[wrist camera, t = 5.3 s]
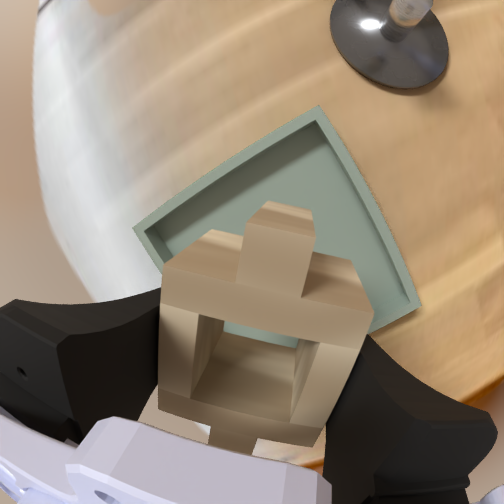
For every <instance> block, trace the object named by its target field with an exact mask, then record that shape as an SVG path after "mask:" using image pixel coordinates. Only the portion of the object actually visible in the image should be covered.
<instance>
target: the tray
mask: <svg viewBox="0 0 504 504" xmlns="http://www.w3.org/2000/svg"><path fill="white" fill-rule="evenodd" d="M267 201H273V202H278V203H282V204H287V205H292V206H296V207H301V208H305V209H310V210H311V212H312V217H313V223H314V229H315V235H316V240H315V244H314V248H313V252H318V253H322V254H327V255H331V256H335V257H340V258H344V259H348V260H351V262H352V264H353V266H354V268H355V270H356V272H357V275H358V277H359V279H360V281H361V283H362V286H363V288H364V290H365V293H366V295H367V297H368V299H369V302H370V304H371V306H372V309H373V311H374V316H373V319H372V321H371V324H370V327H369V329H368V332H367V334H370V333H372V332H374V331H376V330H378V329H380V328H382V327H384V326H386V325H387V324H389V323H391V322H393V321H395V320H397V319H399V318H401V317H402V316H404V315H406V314H408V313H410V312H411V311H413V310H415V309H417V308H419V307H420V306H422V305H421V303H420V300H419V297H418V295H417V292H416V290H415V287H414V285H413V282H412V280H411V277H410V275H409V272H408V270H407V268H406V265H405V263H404V261H403V258H402V256H401V254H400V251H399V249H398V247H397V245H396V243H395V240H394V238H393V236H392V234H391V232H390V230H389V228H388V225H387V223H386V221H385V219H384V217H383V215H382V213H381V211H380V209H379V207H378V205H377V203H376V201H375V199H374V197H373V196H372V194H371V192H370V190H369V188H368V186H367V184H366V182H365V181H364V179H363V177H362V175H361V173H360V171H359V170H358V168H357V166H356V164H355V163H354V161H353V159H352V157H351V156H350V154H349V152H348V150H347V149H346V147H345V145H344V144H343V142H342V140H341V139H340V137H339V136H338V134H337V132H336V131H335V129H334V127H333V126H332V124H331V123H330V121H329V120H328V118H327V116H326V115H325V113H324V112H323V110H322V109H321V107H320V106H319V105H318V106H316V107H314V108H312V109H311V110H309V111H307V112H305V113H304V114H302V115H300V116H298V117H297V118H295V119H293V120H291V121H290V122H288V123H286V124H285V125H283V126H281V127H279V128H278V129H276V130H274V131H273V132H271V133H269V134H268V135H266V136H265V137H263V138H261V139H260V140H258V141H256V142H255V143H253V144H252V145H250V146H248V147H247V148H245V149H244V150H242V151H241V152H239V153H237V154H236V155H234V156H233V157H231V158H230V159H228V160H227V161H225V162H224V163H222V164H221V165H219V166H218V167H216V168H215V169H213V170H212V171H210V172H209V173H207V174H206V175H204V176H203V177H201V178H200V179H198V180H197V181H195V182H194V183H193V184H191V185H190V186H188V187H187V188H185V189H184V190H183V191H181V192H180V193H178V194H177V195H176V196H174V197H173V198H171V199H170V200H169V201H167V202H166V203H165V204H163V205H162V206H161V207H159V208H158V209H157V210H155V211H154V212H152V213H151V214H150V215H148V216H147V217H146V218H145V219H143V220H142V221H141V222H139V223H138V224H137V225H135V226H134V227H133V230H134V232H135V233H136V235H137V237H138V238H139V240H140V241H141V243H142V245H143V246H144V248H145V249H146V251H147V252H148V254H149V256H150V257H151V259H152V260H153V262H154V263H155V265H156V266H157V268H158V270H159V271H160V273H161V274H162V271H163V264H165V263H166V262H167V261H169V260H170V259H172V258H173V257H174V256H176V255H177V254H178V253H180V252H181V251H182V250H184V249H185V248H186V247H188V246H189V245H191V244H192V243H193V242H195V241H196V240H197V239H199V238H200V237H201V236H203V235H204V234H206V233H207V232H208V231H210V230H211V229H214V230H218V231H223V232H228V233H232V234H237V235H241V236H244V231H245V226H246V222H247V221H248V220H249V219H250V218H251V217H252V216H253V215H254V214H255V213H256V212H257V211H258V210H259V209H260V208H261V207H262V206H263V205H264V204H265V203H266V202H267ZM223 331H224V332H228V333H232V334H236V335H240V336H244V337H248V338H252V339H256V340H260V341H265V342H269V343H273V344H278V345H282V346H287V347H292V348H296V347H297V344H298V340H299V338H296V337H291V336H287V335H282V334H278V333H273V332H269V331H265V330H260V329H256V328H252V327H248V326H244V325H240V324H236V323H232V322H228V321H225V323H224V329H223Z"/></svg>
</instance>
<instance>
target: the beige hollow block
mask: <svg viewBox="0 0 504 504" xmlns="http://www.w3.org/2000/svg"><path fill="white" fill-rule="evenodd" d="M315 240H316V235H315V229H314V223H313V217H312V212H311V210H310V209H305V208H301V207H296V206H292V205H287V204H282V203H278V202H273V201H267V202H266V203H265V204H264V205H263V206H262V207H261V208H260V209H259V210H258V211H257V212H256V213H255V214H254V215H253V216H252V217H251V218H250V219H249V220H248V221H247V222H246V226H245V231H244V236H241V235H237V234H232V233H228V232H223V231H218V230H214V229H211V230H210V231H208V232H207V233H206V234H204V235H203V236H201V237H200V238H199V239H197V240H196V241H195V242H193V243H192V244H191V245H189V246H188V247H186V248H185V249H184V250H182V251H181V252H180V253H178V254H177V255H176V256H174V257H173V258H172V259H170V260H169V261H167V262H166V263H165V264H163V271H162V284H161V300H160V318H159V346H158V409H159V410H162V411H165V412H167V413H171V414H173V415H177V416H179V417H182V418H186V419H189V420H192V421H195V422H198V423H202V424H205V425H208V426H211V429H210V435H209V442H208V445H212V446H216V447H219V448H223V449H227V450H231V451H235V452H239V453H244V454H248V455H252V452H253V449H254V447H255V444H256V441H257V438H261V439H266V440H271V441H276V442H281V443H287V444H293V445H299V446H306V447H313V446H314V444H315V442H316V440H317V438H318V437H319V435H320V433H321V431H322V429H323V427H324V425H325V424H326V422H327V420H328V418H329V416H330V414H331V412H332V410H333V408H334V406H335V404H336V402H337V400H338V398H339V396H340V394H341V392H342V389H343V387H344V385H345V383H346V381H347V379H348V377H349V374H350V372H351V370H352V368H353V365H354V363H355V361H356V358H357V356H358V354H359V351H360V349H361V347H362V344H363V342H364V339H365V337H366V334H367V332H368V329H369V327H370V324H371V321H372V319H373V316H374V311H373V309H372V306H371V304H370V302H369V299H368V297H367V295H366V293H365V290H364V288H363V286H362V283H361V281H360V279H359V277H358V275H357V272H356V270H355V268H354V266H353V264H352V262H351V260H348V259H344V258H340V257H335V256H331V255H327V254H322V253H318V252H313V248H314V244H315ZM225 321H228V322H232V323H236V324H240V325H244V326H248V327H252V328H256V329H260V330H265V331H269V332H273V333H278V334H282V335H287V336H291V337H296V338H299V340H298V344H297V347H296V348H292V347H287V346H282V345H278V344H273V343H269V342H265V341H260V340H256V339H252V338H248V337H244V336H240V335H236V334H232V333H228V332H224V331H223V329H224V323H225Z"/></svg>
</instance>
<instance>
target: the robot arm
mask: <svg viewBox="0 0 504 504" xmlns="http://www.w3.org/2000/svg"><path fill="white" fill-rule="evenodd" d="M160 300H161V288H158V289H155V290H151V291H148V292H145V293H142V294H138V295H134V296H130V297H127V298H123V299H118V300H113V301H107V302H100V303H90V304H73V305H67V304H62V305H61V304H46V303H37V302H30V301H24V300H18V299H15V300H13V301H11V302H9V303H8V304H6V305H4V306H2V307H1V308H0V488H1V489H2V490H3V491H4V492H5V493H6V494H8V495H9V496H10V497H11V498H12V499H13V500H14V501H16V502H17V504H469V501H468V498H467V494H466V491H465V488H467V487H468V486H469V485H470V480H469V478H468V474H469V473H470V472H471V471H472V470H473V469H474V468H475V467H476V466H477V465H478V464H479V463H480V462H481V461H482V460H483V459H484V458H485V457H486V456H487V454H488V453H489V452H490V450H491V449H492V447H493V446H494V444H495V441H496V439H497V434H498V431H497V428H496V426H495V424H494V422H493V420H492V418H491V417H490V414H489V413H488V412H486V411H483V410H480V409H477V408H474V407H471V406H468V405H465V404H463V403H460V402H458V401H456V400H454V399H452V398H449V397H447V396H445V395H443V394H441V393H440V392H438V391H436V390H434V389H433V388H431V387H429V386H428V385H426V384H424V383H423V382H421V381H420V380H418V379H417V378H415V377H414V376H413V375H411V374H410V373H409V372H407V371H406V370H405V369H404V368H402V367H401V366H400V365H399V364H398V363H396V362H395V361H394V360H393V359H392V358H391V357H390V356H389V355H388V354H387V353H386V352H385V351H384V350H383V349H382V348H381V347H380V346H379V345H378V344H377V343H376V342H375V341H374V340H373V339H372V338H371V337H370V336H369V335H368V334H366V337H365V339H364V342H363V344H362V347H361V349H360V351H359V354H358V356H357V358H356V361H355V363H354V365H353V368H352V370H351V372H350V374H349V377H348V379H347V381H346V383H345V385H344V387H343V389H342V392H341V394H340V396H339V398H338V400H337V402H336V404H335V406H334V408H333V410H332V412H331V414H330V416H329V418H328V420H327V422H326V445H325V458H324V467H323V476H321V475H320V474H319V473H317V472H316V471H314V470H312V469H308V468H305V467H301V466H298V465H295V464H291V463H288V462H284V461H279V460H273V459H268V458H262V457H257V456H253V455H248V454H244V453H239V452H235V451H231V450H227V449H223V448H219V447H216V446H212V445H208V444H205V443H201V442H198V441H195V440H192V439H188V438H185V437H182V436H179V435H175V434H173V433H170V432H167V431H164V430H162V429H159V428H156V427H154V426H151V425H148V424H146V423H142V422H138V419H139V417H140V414H141V413H142V410H143V408H144V407H145V405H146V403H147V401H148V399H149V397H150V395H151V394H152V392H153V390H154V389H155V387H156V386H157V385H158V346H159V318H160ZM471 504H504V484H503V485H500V486H498V487H496V488H494V489H493V490H491V491H490V492H488V493H487V494H486V495H485V496H484V497H483V498H482V499H481V500H480V501H479V502H475V503H471Z"/></svg>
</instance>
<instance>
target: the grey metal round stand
mask: <svg viewBox="0 0 504 504" xmlns="http://www.w3.org/2000/svg"><path fill="white" fill-rule="evenodd" d="M432 5H433V0H336V1H335V3H334V5H333V7H332V11H331V15H330V31H331V36H332V38H333V41H334V43H335V45H336V47H337V49H338V51H339V52H340V54H341V55H342V56H343V58H344V59H345V60H346V61H347V62H348V63H349V64H350V65H351V66H352V67H353V68H354V69H355V70H357V71H358V72H359V73H360V74H362V75H364V76H365V77H367V78H368V79H370V80H372V81H374V82H376V83H379V84H381V85H384V86H388V87H392V88H397V89H413V88H418V87H421V86H424V85H426V84H428V83H430V82H432V81H433V80H435V79H436V78H437V77H438V76H439V75H440V74H441V73H442V71H443V70H444V68H445V66H446V63H447V60H448V42H447V38H446V34H445V32H444V30H443V27H442V26H441V24H440V22H439V20H438V19H437V18H436V16H435V15H434V14H433V12H432V11H431V10H430V8H431V7H432Z"/></svg>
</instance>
